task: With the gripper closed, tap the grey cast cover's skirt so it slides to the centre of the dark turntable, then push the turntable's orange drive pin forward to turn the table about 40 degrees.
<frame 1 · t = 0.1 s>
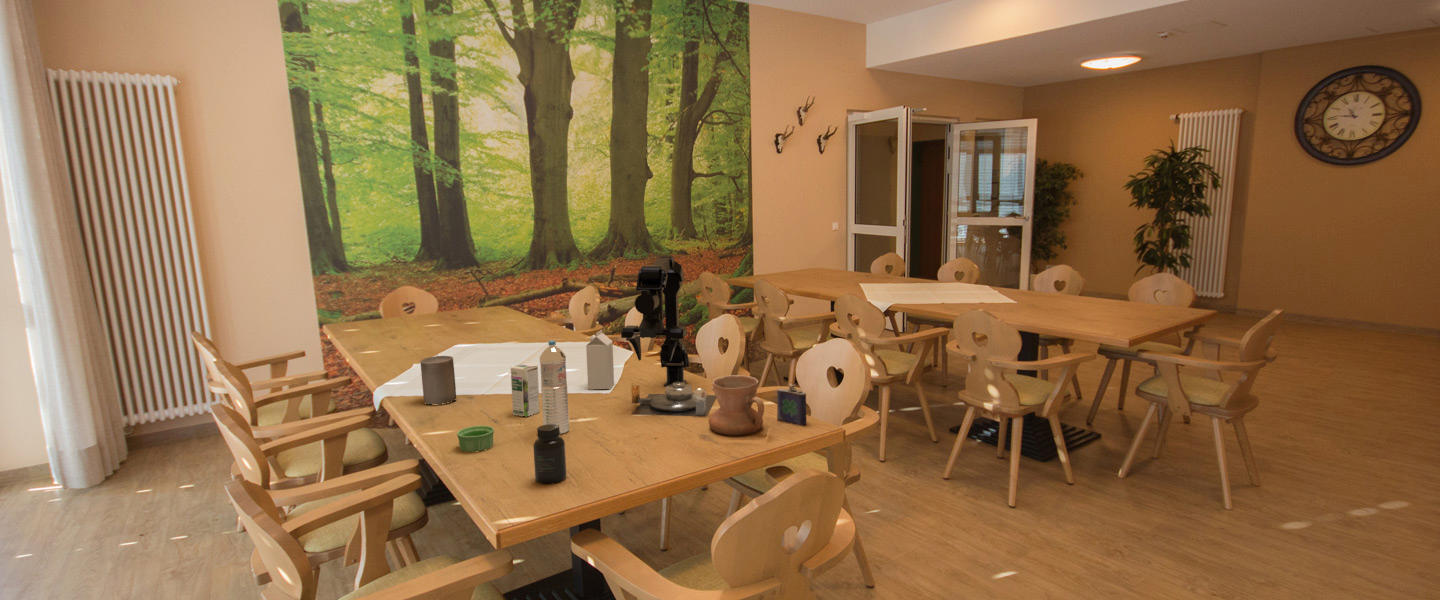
hand: (654, 360, 212), 15 cm above the table, tool pointing down, fingers open, 9 cm apart
ramekin: (476, 448, 183), on the table
cover: (679, 396, 218), point 2 cm above the table, touching turntable
flask: (792, 423, 199), on the table
turntable: (666, 395, 215), point 4 cm above the table, hinge at 0.0°, touching cover
syrup box: (526, 414, 211), on the table
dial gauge: (700, 414, 204), resting on base plate
water bottle: (556, 432, 194), on the table
pillar candle: (440, 402, 226), on the table
ceramic jug: (737, 433, 191), on the table
milk carton: (601, 387, 240), on the table
base plate: (676, 407, 215), on the table
supplement bottle: (551, 479, 161), on the table
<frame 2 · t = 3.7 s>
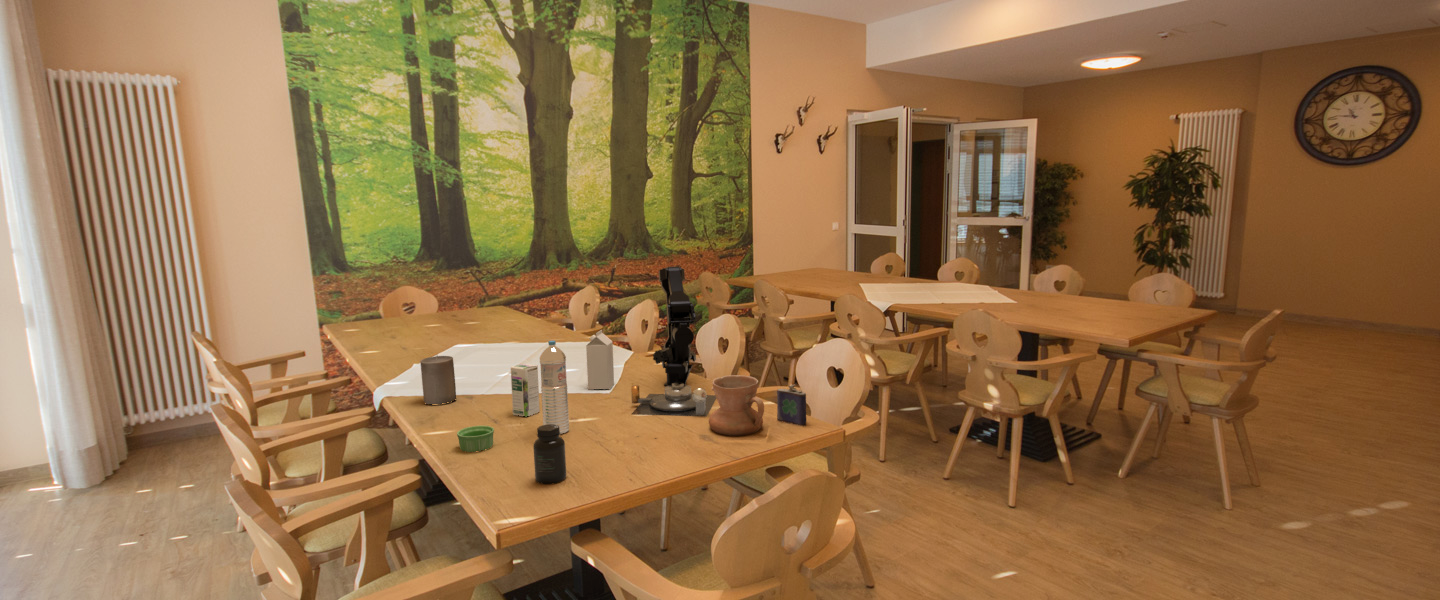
hand: (681, 389, 222), 3 cm above the table, tool pointing down, fingers closed
cover: (678, 397, 217), point 2 cm above the table, touching gripper, turntable
everything else where it was.
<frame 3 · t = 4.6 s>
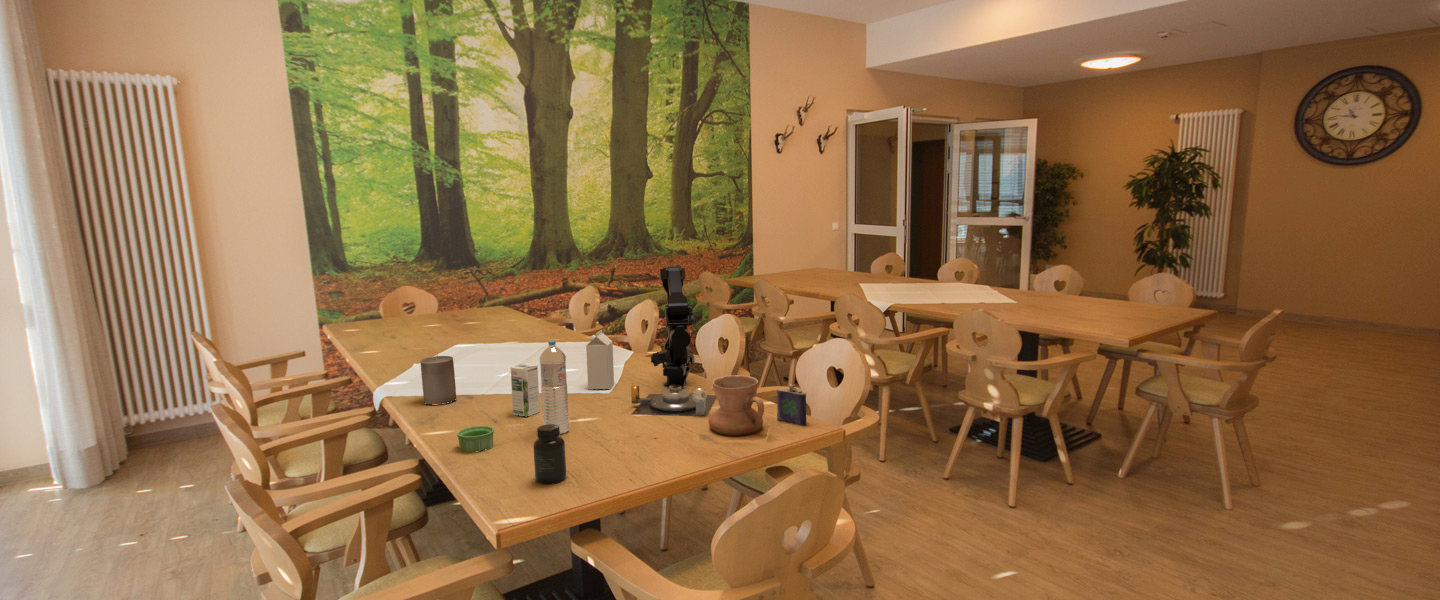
hand: (680, 391, 220), 3 cm above the table, tool pointing down, fingers closed
cover: (675, 399, 215), point 2 cm above the table, touching gripper, turntable
turntable: (666, 395, 215), point 4 cm above the table, hinge at 0.7°, touching cover
everything else where it was.
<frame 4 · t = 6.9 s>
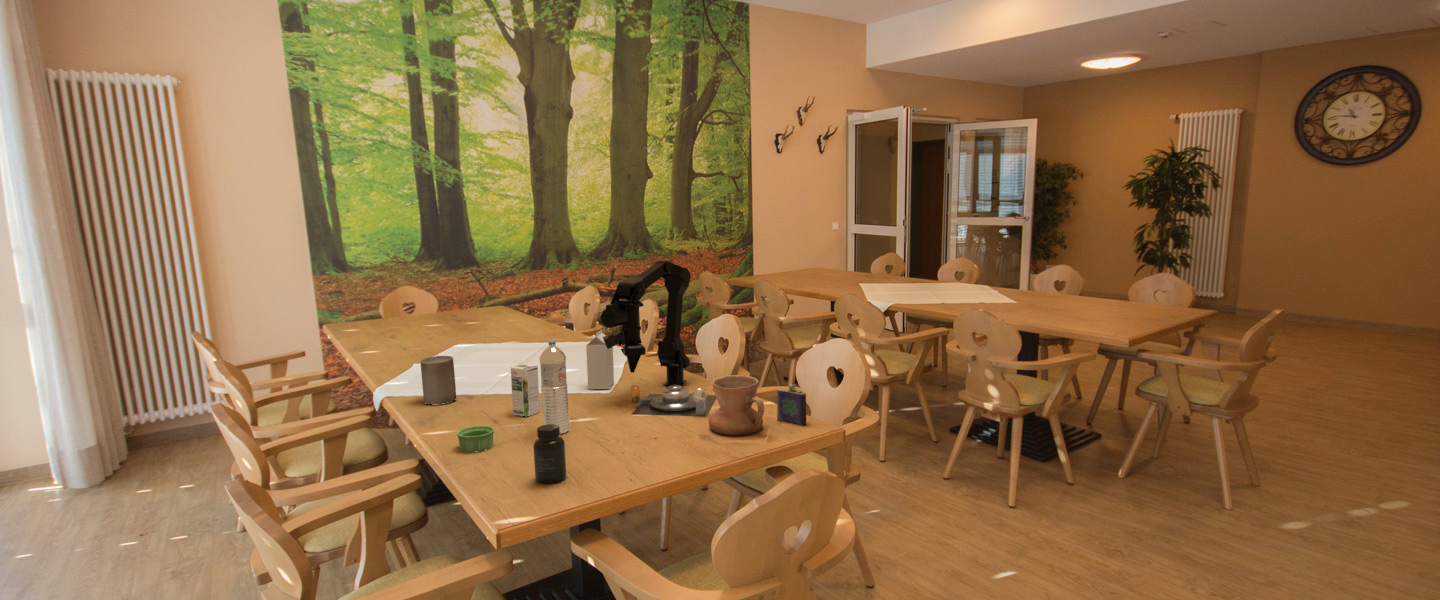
hand: (632, 372, 222), 9 cm above the table, tool pointing down, fingers closed
cover: (675, 399, 215), point 2 cm above the table, touching turntable
everything else where it was.
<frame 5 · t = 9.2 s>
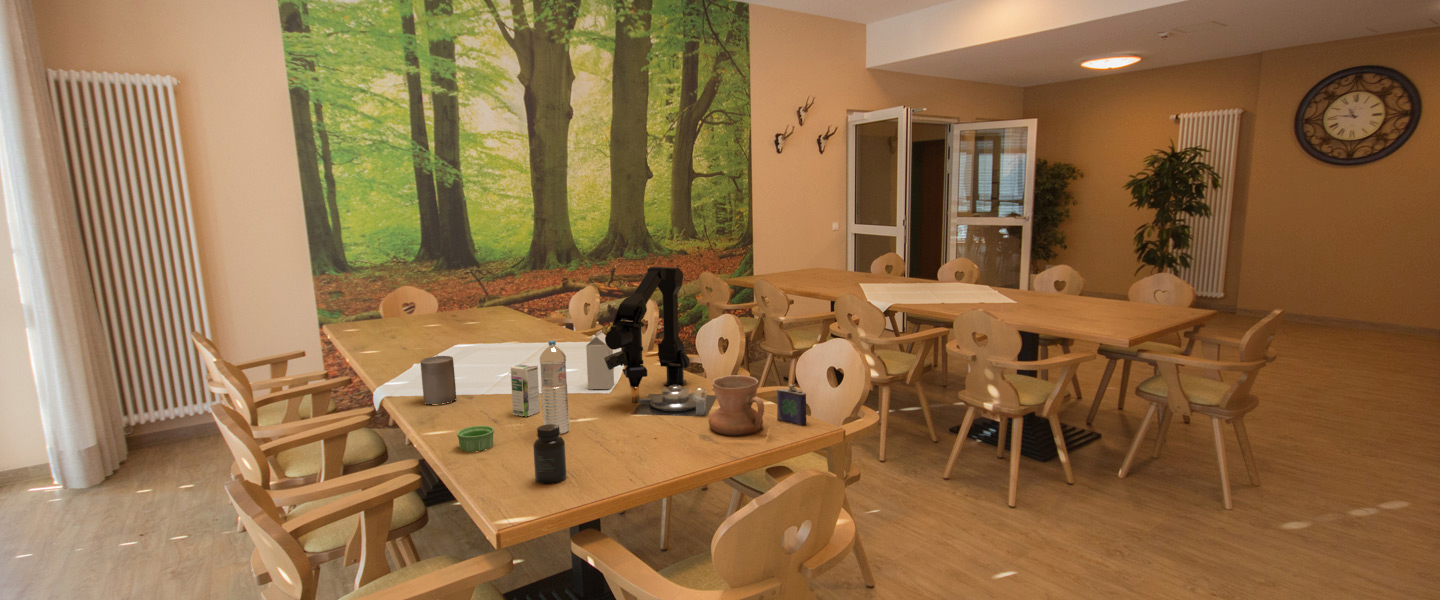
hand: (633, 393, 218), 3 cm above the table, tool pointing down, fingers closed
turntable: (666, 395, 214), point 4 cm above the table, hinge at 1.7°, touching cover, gripper
everything else where it was.
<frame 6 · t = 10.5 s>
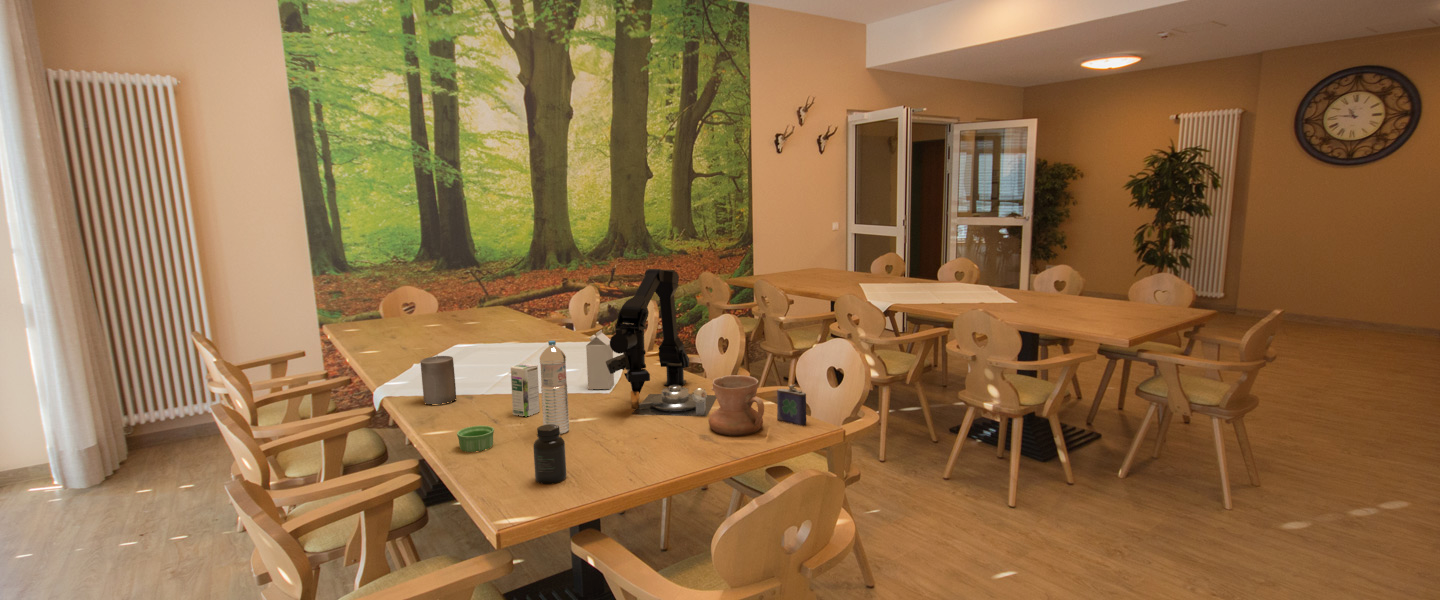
hand: (635, 398, 213), 3 cm above the table, tool pointing down, fingers closed
turntable: (666, 396, 213), point 4 cm above the table, hinge at 28.0°, touching cover, gripper
everything else where it was.
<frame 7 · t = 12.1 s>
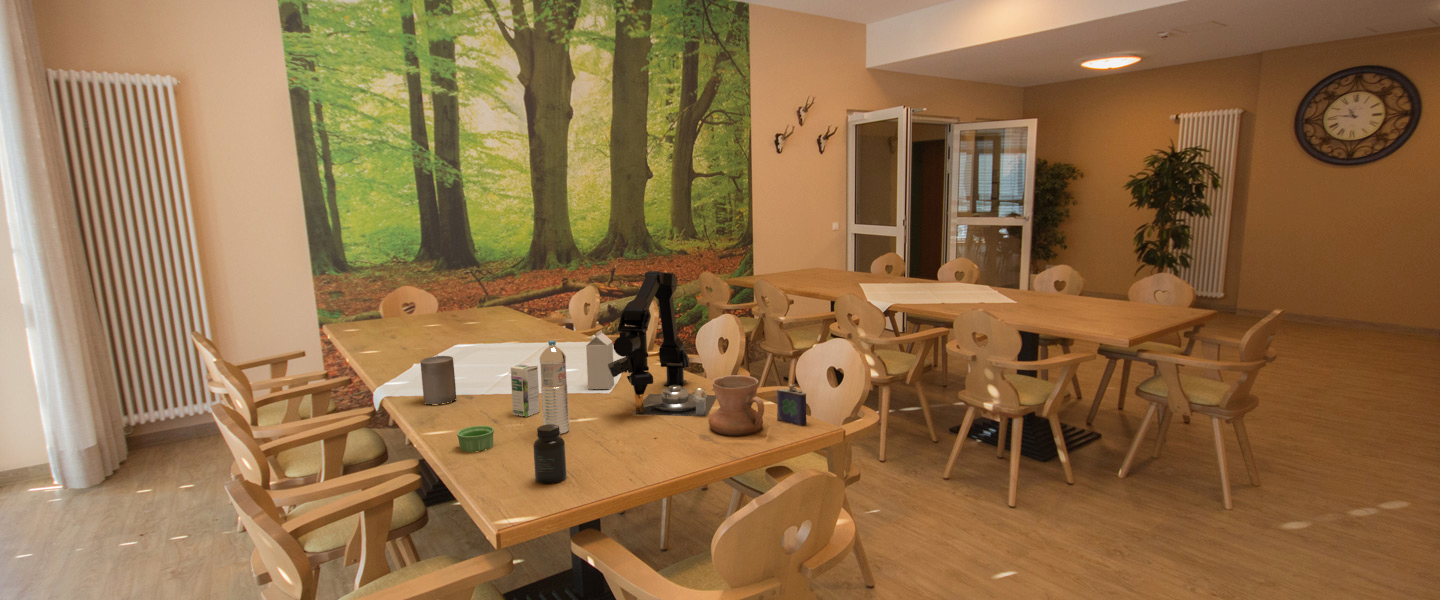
hand: (638, 401, 210), 3 cm above the table, tool pointing down, fingers closed
turntable: (668, 396, 213), point 4 cm above the table, hinge at 43.5°, touching cover, gripper
everything else where it was.
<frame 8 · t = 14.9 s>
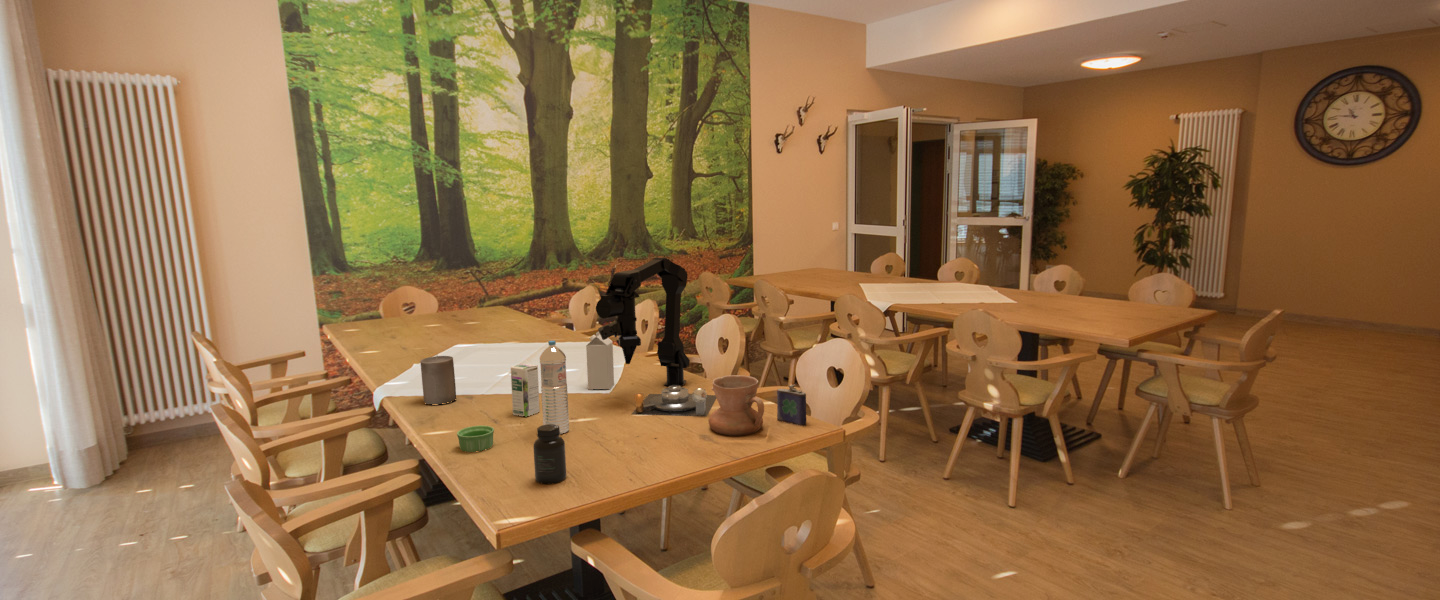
hand: (627, 363, 220), 12 cm above the table, tool pointing down, fingers closed
turntable: (668, 396, 213), point 4 cm above the table, hinge at 43.5°, touching cover
everything else where it was.
at the end: cover 0.4 cm from the turntable (horizontally); turntable at +44° (first picture: +0°); cover tilted 0° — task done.
